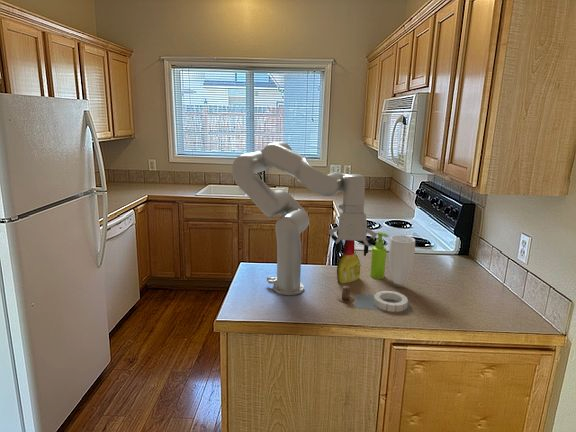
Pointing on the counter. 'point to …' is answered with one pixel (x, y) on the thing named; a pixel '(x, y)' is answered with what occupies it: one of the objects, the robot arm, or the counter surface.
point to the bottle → (348, 264)
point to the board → (368, 303)
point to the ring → (388, 306)
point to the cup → (401, 257)
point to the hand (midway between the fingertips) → (351, 253)
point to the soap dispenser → (378, 257)
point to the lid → (345, 295)
